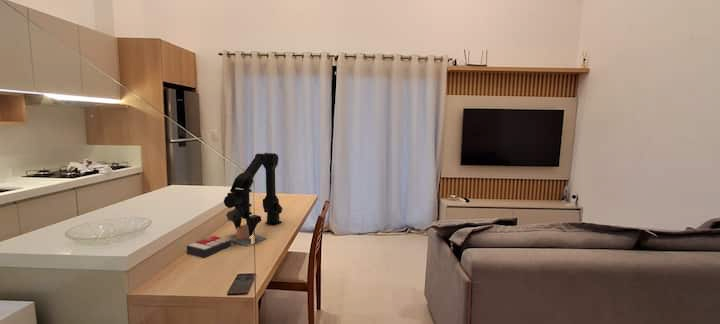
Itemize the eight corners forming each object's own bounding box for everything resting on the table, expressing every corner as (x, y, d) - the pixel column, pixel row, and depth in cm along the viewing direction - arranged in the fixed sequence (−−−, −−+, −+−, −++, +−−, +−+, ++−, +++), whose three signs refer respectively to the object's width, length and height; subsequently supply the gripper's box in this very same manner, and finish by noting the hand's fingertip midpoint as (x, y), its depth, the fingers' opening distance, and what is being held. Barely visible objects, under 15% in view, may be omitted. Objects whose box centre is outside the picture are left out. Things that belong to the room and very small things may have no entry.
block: (248, 235, 168) (248, 223, 167) (251, 235, 167) (251, 224, 166) (237, 239, 162) (236, 227, 162) (239, 240, 161) (239, 228, 161)
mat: (248, 233, 172) (248, 232, 172) (266, 238, 165) (266, 237, 165) (228, 240, 162) (228, 239, 162) (246, 246, 155) (246, 245, 155)
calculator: (231, 238, 155) (204, 248, 142) (231, 248, 156) (204, 258, 142) (213, 235, 160) (186, 244, 146) (213, 243, 160) (186, 253, 146)
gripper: (216, 203, 161) (217, 234, 163) (242, 209, 151) (243, 242, 153) (236, 198, 170) (237, 228, 172) (261, 204, 160) (262, 235, 162)
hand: (244, 233), depth 165 cm, fingers open, 9 cm apart
